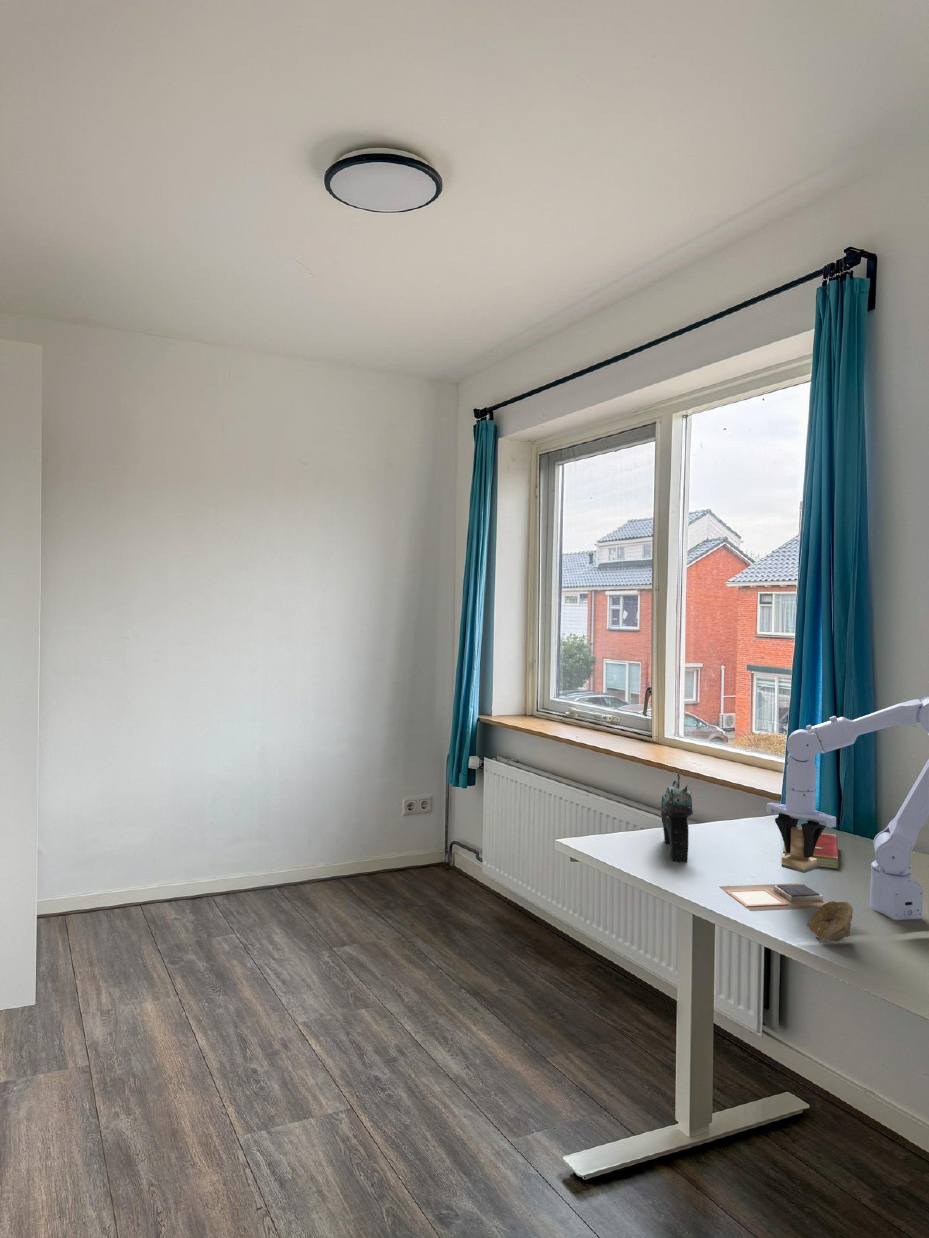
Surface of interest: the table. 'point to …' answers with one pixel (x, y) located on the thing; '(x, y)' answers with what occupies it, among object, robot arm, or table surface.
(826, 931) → the fossil
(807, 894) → the ink pad
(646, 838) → the table surface
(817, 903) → the board
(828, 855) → the hardcover book
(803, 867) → the stamp
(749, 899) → the square coaster
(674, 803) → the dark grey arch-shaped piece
